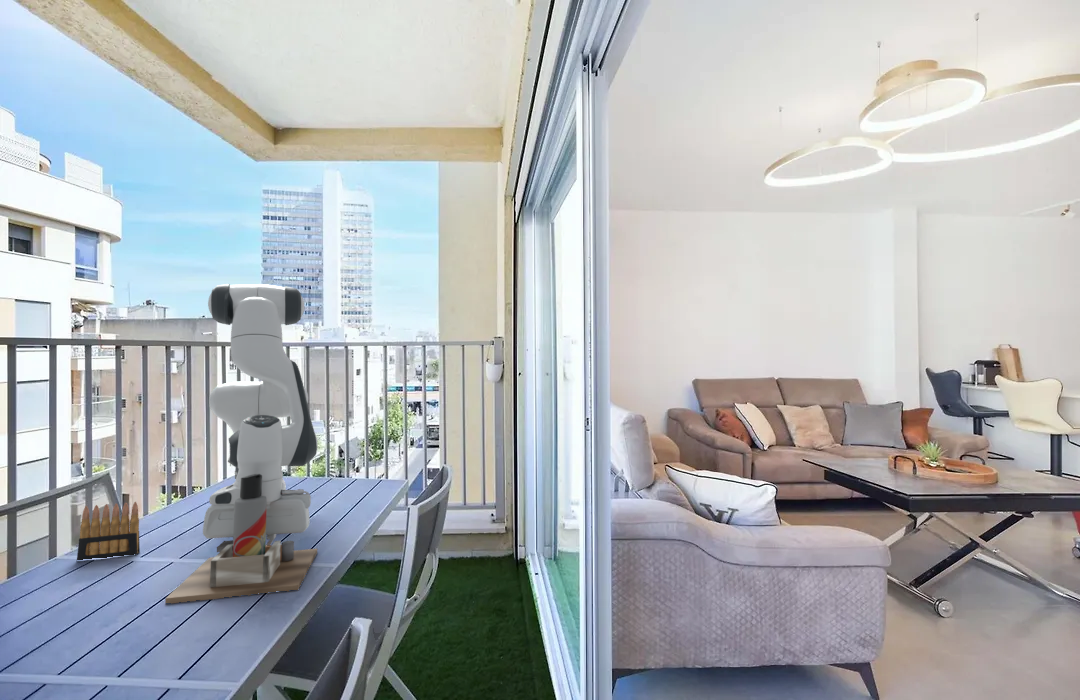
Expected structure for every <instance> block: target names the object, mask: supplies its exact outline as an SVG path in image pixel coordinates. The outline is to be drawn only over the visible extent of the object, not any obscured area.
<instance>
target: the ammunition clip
mask: <svg viewBox="0 0 1080 700" xmlns="http://www.w3.org/2000/svg"><path fill="white" fill-rule="evenodd" d="M83 508H84V509H83V511H82V516H81V524H80V529H79V530H80V531H79V538H78V546H77V554H76V555H77V556H76V561H77V560H83V559H92V558H107V557H113V556H124V555H134V554H137V555H138V554H140V549H141V548H140V530H139V529H140V519H139V506H138V503H137V501H134V502H133V504H132V507H131V513H130V511H129V505H128V503H127V502H124V504H123V507H122V510H121V517H120V508H119V505H118V503H114V506H113V509H112V512H111V513H112V516H111V520H110V515H111V514H110V508H109V505H108V504H107V503H106V504H105V505H104V508H103V510H102V517H101V515H100V514H101V513H100V508H99V506H98V505H97V504H95V506H94V508H93V511H92V515H91V516H92V517H91V521H90V510H89V507H88V505H85V506H84V507H83ZM130 514H131V515H130ZM100 518H101V519H100ZM120 518H121V520H120Z"/></svg>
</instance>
